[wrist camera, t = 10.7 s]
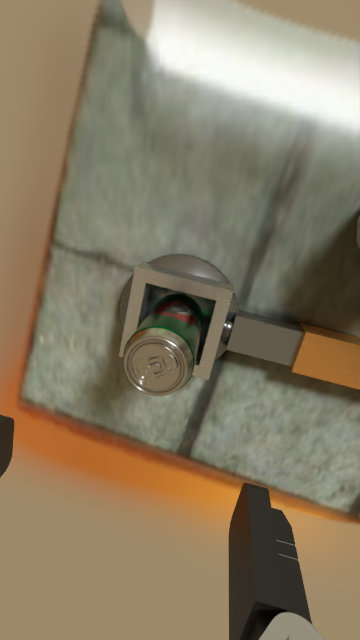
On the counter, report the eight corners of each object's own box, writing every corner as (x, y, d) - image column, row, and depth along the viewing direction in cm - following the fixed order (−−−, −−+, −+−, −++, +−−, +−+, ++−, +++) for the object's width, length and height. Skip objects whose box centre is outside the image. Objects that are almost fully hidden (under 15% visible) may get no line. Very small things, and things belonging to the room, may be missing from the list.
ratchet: (416, 310, 32) (445, 325, 28) (367, 415, 36) (386, 442, 32) (134, 241, 34) (121, 244, 29) (115, 349, 37) (101, 366, 33)
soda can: (145, 302, 34) (105, 345, 22) (192, 284, 33) (175, 320, 21) (165, 347, 35) (136, 409, 24) (211, 331, 34) (204, 389, 22)
